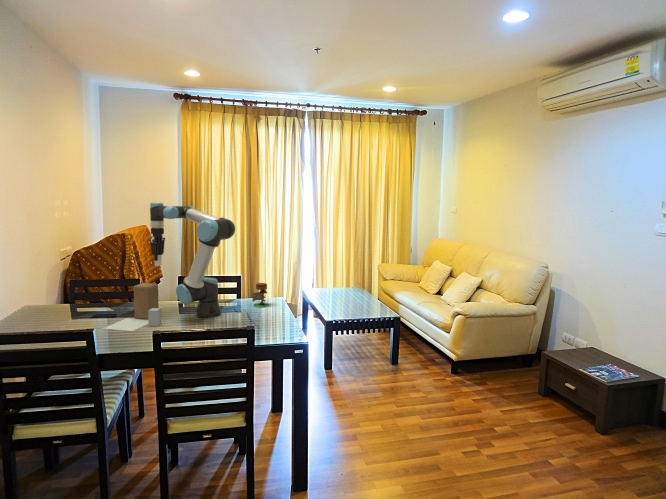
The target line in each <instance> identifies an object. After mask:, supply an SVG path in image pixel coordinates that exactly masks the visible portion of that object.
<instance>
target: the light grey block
mask: <svg viewBox="0 0 666 499" xmlns="http://www.w3.org/2000/svg"><path fill="white" fill-rule="evenodd" d="M148 319H149V324H148V327H159V326H160V325H161V324H162V308H152V309H150V310H148ZM158 325H159V326H158Z"/></svg>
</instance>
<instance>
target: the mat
mask: <svg viewBox="0 0 666 499" xmlns="http://www.w3.org/2000/svg"><path fill="white" fill-rule="evenodd" d="M146 326H149V320H145V319H136V318H130V317H129V318H126V317H125V319H122V320H119V321H117V322H114V323H112V324H109V325H108V326H107V325H106V326H105V327H102V330H106V331H107V330H108V331H117V332H118V331H119V332H130V333H131V332H132V333H133V332H136V331H138V330H140V329H143V328H144V327H146Z"/></svg>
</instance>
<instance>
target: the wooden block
mask: <svg viewBox="0 0 666 499" xmlns="http://www.w3.org/2000/svg"><path fill="white" fill-rule="evenodd" d="M133 299H134V300H133V303H134V304H133V306H134V307H133V309H134V310H133V312H134V319H142V320H149V319H148V310H150V309H152V308H159V307H160V306H159V284H158V283H150V282H149V283H148V282H143V283H139V284H136V285H134V286H133Z"/></svg>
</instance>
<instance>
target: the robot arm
mask: <svg viewBox="0 0 666 499" xmlns="http://www.w3.org/2000/svg"><path fill="white" fill-rule="evenodd" d="M149 204H150V206H149V207H150V208H149V215H150V227H151V228H150V234H151V235H152V236H151V239H149V242H150V249H151V255H152V256H154V266H155V267H159V266H162V265H163V263H162V262H163V260H162V256H163V255H164V252H165V243H166V242H165V241H166V237H163V236H164V234H165V228H164V227H165V223H164V222H165V219H166V220H173V219H185V220H187V221H191V222H193V223H196V224H198V225H197V228H196V233H197V234H196V237H197V238H198V241H199V244H198V247H197V250H196V252H195V256H194V258H193V262H192V264H191V267H190V270H189V272H188V275H187V276H185V277H184V279H183V281H182V283H180V284H178V285H177V286H176V287H175V293H176V294H175V295H176V298H177V300H178V301H179V302H180V303H182V304H191V303H195V302H198V303H197V305H196V306H197V307H196V309H195V316H196V317H198V318H205V319H206V318H215V317H219V316H221V315H222V309H221V306H220V303H219V280H218V279H217V278H215V277H206V274H207V270H208V268H209V266H210V263H211V260H212V257H213V255H214V252H215V249H216V248H217V247H219V246H220V243H221V241H222V240H223V241H225V240H229V239H230V238H232V237H233V236H234V235H235V232H236V226H235V223H234V222H233V221H232V220H230V219H228V218H226V217H217V216H214V215H211V214H209V213H206V212H204V211H200V210H198V209H196V208H195V207H194V206H190V205H164V203H163V202H161V201H160V202H157V201H155V202H150V203H149Z"/></svg>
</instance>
